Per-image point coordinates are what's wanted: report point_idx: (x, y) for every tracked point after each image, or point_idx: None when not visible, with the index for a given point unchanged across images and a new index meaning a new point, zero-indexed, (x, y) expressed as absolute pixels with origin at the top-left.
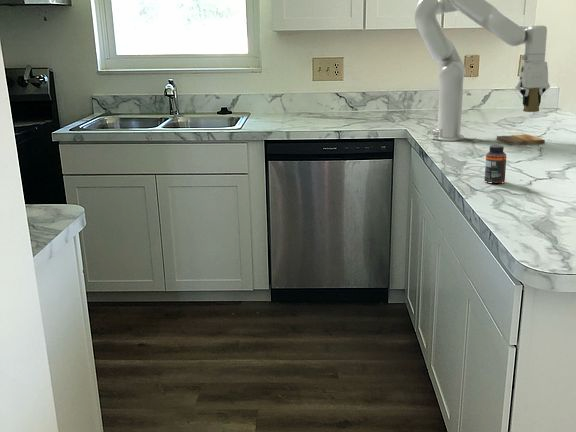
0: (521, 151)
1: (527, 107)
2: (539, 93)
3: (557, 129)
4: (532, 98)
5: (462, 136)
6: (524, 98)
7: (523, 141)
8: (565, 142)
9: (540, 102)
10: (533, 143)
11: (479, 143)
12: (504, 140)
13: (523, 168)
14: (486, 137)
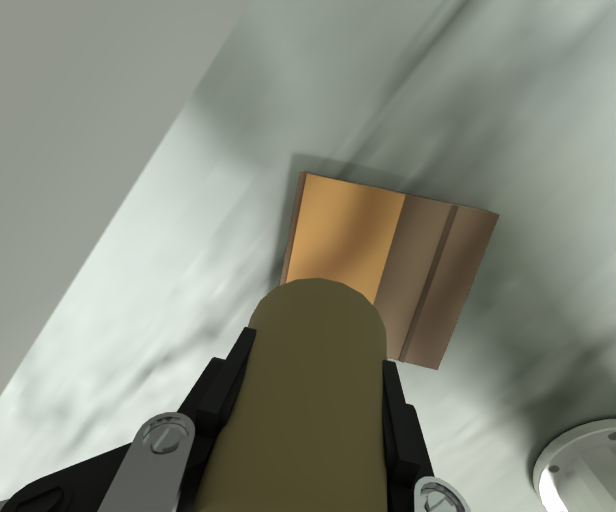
0: (586, 23)
1: (384, 350)
2: (189, 456)
3: (53, 412)
4: (350, 397)
5: (573, 447)
6: (425, 469)
7: (422, 198)
8: (183, 161)
9: (214, 357)
10: (362, 184)
11: (582, 325)
12: (467, 285)
13: None
14: (428, 419)
